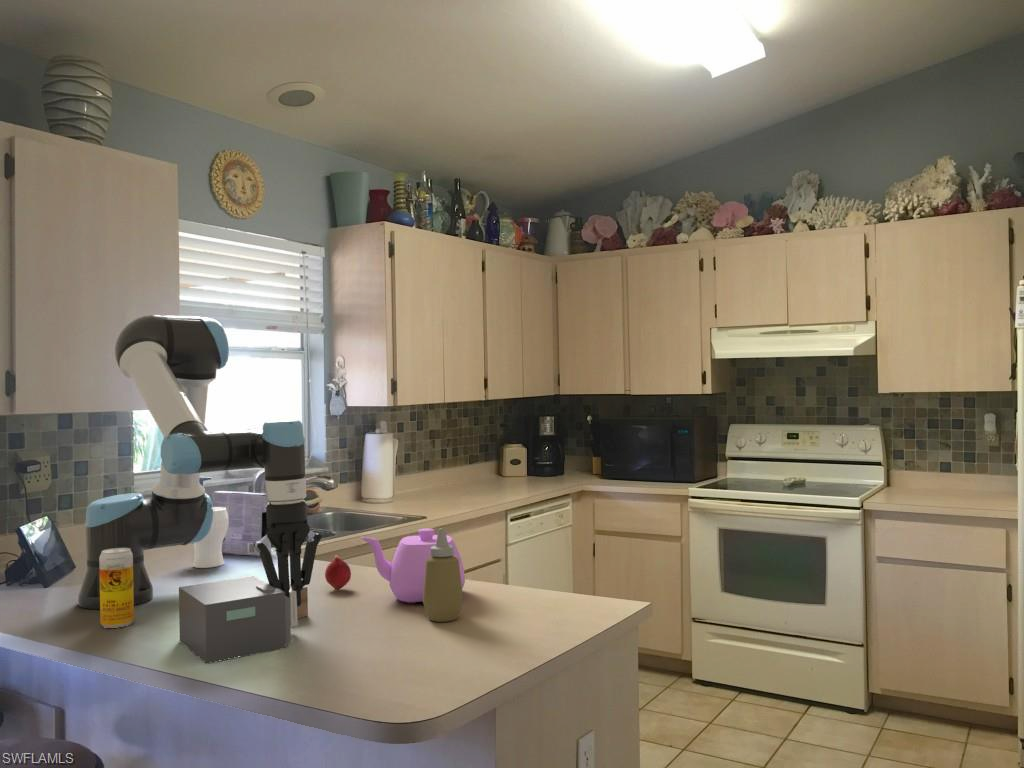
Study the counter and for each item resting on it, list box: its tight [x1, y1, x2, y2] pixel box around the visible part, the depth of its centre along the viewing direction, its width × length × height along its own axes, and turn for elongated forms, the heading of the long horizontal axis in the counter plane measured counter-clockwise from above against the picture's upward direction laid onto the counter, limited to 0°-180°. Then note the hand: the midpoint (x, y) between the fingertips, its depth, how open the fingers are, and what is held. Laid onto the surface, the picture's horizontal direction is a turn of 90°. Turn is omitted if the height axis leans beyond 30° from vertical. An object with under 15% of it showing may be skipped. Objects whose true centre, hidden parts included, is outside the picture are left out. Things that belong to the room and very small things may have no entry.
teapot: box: [360, 527, 466, 604], centre depth 190 cm, size 23×21×15 cm
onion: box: [324, 555, 352, 591], centre depth 197 cm, size 6×6×8 cm
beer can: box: [99, 548, 135, 629], centre depth 171 cm, size 6×6×15 cm
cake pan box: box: [212, 490, 272, 557], centre depth 245 cm, size 19×5×18 cm, turn 68°
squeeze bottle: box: [422, 527, 464, 623], centre depth 171 cm, size 8×8×18 cm
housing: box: [178, 576, 287, 664], centre depth 156 cm, size 17×14×10 cm
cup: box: [192, 506, 229, 569], centre depth 229 cm, size 11×11×15 cm
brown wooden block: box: [290, 583, 309, 619], centre depth 175 cm, size 5×5×6 cm
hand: (291, 624), depth 163 cm, fingers closed
